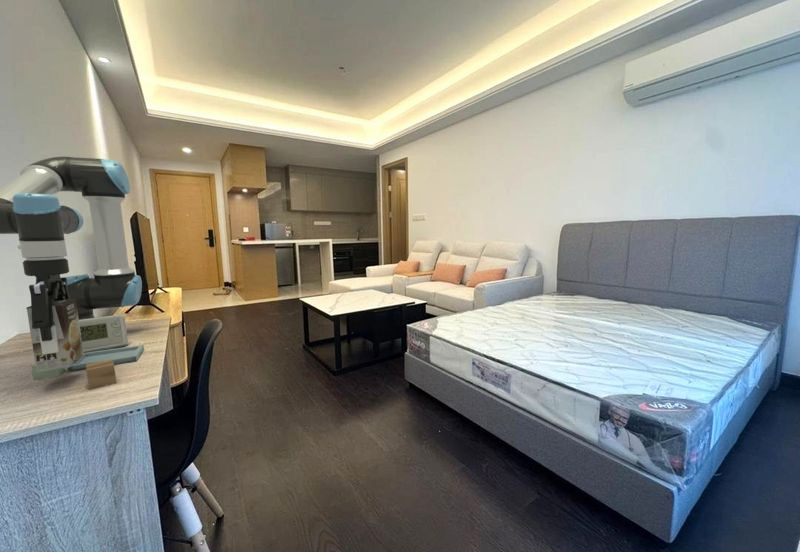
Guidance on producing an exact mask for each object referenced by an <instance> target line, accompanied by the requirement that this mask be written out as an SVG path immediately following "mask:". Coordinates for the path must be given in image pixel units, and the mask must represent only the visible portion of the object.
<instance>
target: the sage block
mask: <svg viewBox="0 0 800 552" xmlns="http://www.w3.org/2000/svg"><path fill="white" fill-rule="evenodd" d="M30 368H31V375H32V380H33V381H35V380H42V379H47V378H48V379H49V378H54V377H59V376H61V375H62V374H64V373H65V372H66V368H62V369H55V370H49V371H42V372H37V370H36V364H35V362H34V363H33V364H31V365H30Z"/></svg>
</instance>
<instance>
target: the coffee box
mask: <svg viewBox="0 0 800 552" xmlns="http://www.w3.org/2000/svg"><path fill="white" fill-rule="evenodd" d="M52 310H53V326H56V333H57V339H58V345H59V352H56V353H49V354H42V348H41V342H40V336H39V330H38V328H36V329H33V328H32V309H31V305H30V306H27V307H26V313H27V318H28V326H29V331H30V337H31V344H32V351H33V357H34V363H35V364H36V370H37V372H42V371H49V370H55V369H62V368H65V369H67V368H69V367H71V366H72V365H74V364H75V363H76V362H77V361H78V360H79V359H80V358H81V357H82V356H83V355H84V353H83V346H82V339H81V332H80V325H79V318H78V311H77V303H76V299H65V300H57V301H54V305H52ZM42 322H43V321H42Z"/></svg>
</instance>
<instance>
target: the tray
mask: <svg viewBox="0 0 800 552" xmlns="http://www.w3.org/2000/svg"><path fill="white" fill-rule="evenodd" d="M144 350H145V348H144V344H142V345H141V344H140V345H139V344H138V345H134V346H124V347H116V348H115V349H109V350H103V351H96V352H88V353H84V355H83V356H82V357H81V358H80V359H79V360H78V361H77V362H76V363H75V364H74V365H72V366H71V367H69V368H66V371H67V373H72V372H78V371H84V370H86V365H87V364H92V363H97V362H102V361H107V360H113V363H114V366H115V365H123V364H127V363H128V364H129V363H135V362H137V361H138V360H139V358H140V357H141V355H142V354H143V352H144Z"/></svg>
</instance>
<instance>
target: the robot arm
mask: <svg viewBox="0 0 800 552" xmlns="http://www.w3.org/2000/svg"><path fill="white" fill-rule="evenodd" d="M59 192H74V193H81V196H82V197H81V198H83V199H85V201H87V202H88V204H89V213H90V218H91V223H92V224H91V226H92V231H93V237H94V238H93V239H94V244H95V245H94V246H95V252H96V259H97V266H98V269H97V270H96V271H95V272H94V273H93V277H90V275H89V274H86V273H85V274H76V275H72V276H71V275H70V276H63V277H61V275H65V274H68V273H69V272H70V267H69V261H68V259H67V258H65V257H67V256H68V252H67V246H66V241H65V234H66V235H69V234H72V233H76V232H78V231H79V230H81V229H82V227H83V226H84V218H83V216H82V214H81V213H80V212H79V211H78V210H77V209H74V208H72V207H70V206H68V205H64V204H63V205H61V204H60V200H59V197H57V196H56V194H57V193H59ZM130 193H131V185H130V181H129V177H128V174H127V172H126V170H125V168H124V167H123V165H122V164H121V163H120V162H119V161H116V160H112V159H105V158H93V157H90V158H89V157H76V156H65V155H64V156H54V157H48V158H44V159H41V160H38V161H36V162H32V163H30V164H29V165H26V166H25V167H24V168H23V169H21V170H20V173H19V176H18V177H16V178H15V179H13V180H11V181H10V182H8V183H7V184H4V185H3V186H2V187H1V188H0V235H11V234H12V235H13V234H14V235H15V234H16V235H18V241H19V245H17V249H19V250H20V252H21V257H22V258H23V259H25V260H23V261H22V266H23V267H22V268H23V272H24V275H25V276H27V277H35V284H29V286H28V289H29V293H30V306H31V309H32V328H33V329H36V328H38V330H39V336H40V342H41V348H42V354H49V353H56V352H59V345H58V339H57V333H56V326H53V310H52V305H54V301H57V300H65V299H76V303H77V311H78V318H79V320H81V319H89V318H96V317H95V315H94V310H99V309H101V310H102V309H111V308H125V307H133V306H135V305H137V304H139V301H140V299H141V296H142V289H143V284H142V283H143V281H142V277H141V276H140V275H137V274H136V272H135V269H133V268H131V267H130V266H129V258H128V250H127V249H128V248H127V242H126V236H125V225H124V218H123V212H122V205H121V204H122V203H123V202H124V201H125V200H126V195H128V194H130ZM42 321H43V322H42Z"/></svg>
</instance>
